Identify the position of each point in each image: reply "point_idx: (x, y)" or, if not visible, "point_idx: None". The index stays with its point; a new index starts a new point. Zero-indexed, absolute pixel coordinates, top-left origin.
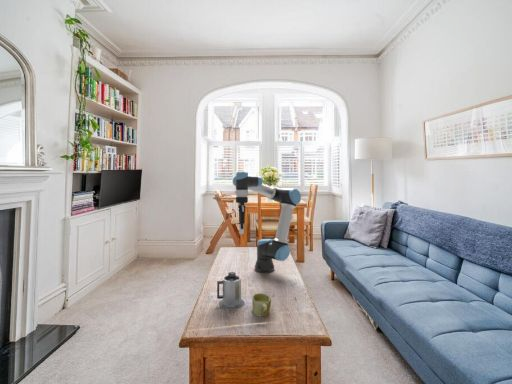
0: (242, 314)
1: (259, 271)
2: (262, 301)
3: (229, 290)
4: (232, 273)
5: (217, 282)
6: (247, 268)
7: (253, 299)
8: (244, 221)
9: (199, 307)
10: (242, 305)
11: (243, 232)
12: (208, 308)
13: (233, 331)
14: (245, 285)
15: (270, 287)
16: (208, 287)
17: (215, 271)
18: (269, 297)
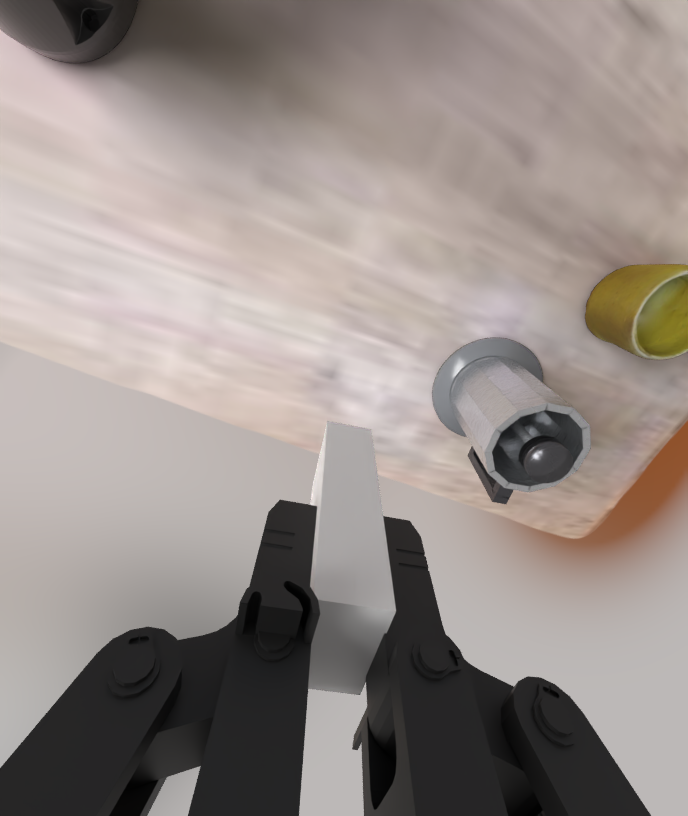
0: (581, 377)
1: (116, 41)
2: (650, 300)
3: None
4: (552, 462)
5: (505, 502)
6: (22, 116)
7: (659, 359)
8: (619, 771)
9: (445, 492)
10: (530, 358)
11: (370, 451)
12: (468, 469)
13: (650, 435)
14: (326, 259)
15: (416, 107)
16: (286, 435)
17: (72, 358)
18: None
